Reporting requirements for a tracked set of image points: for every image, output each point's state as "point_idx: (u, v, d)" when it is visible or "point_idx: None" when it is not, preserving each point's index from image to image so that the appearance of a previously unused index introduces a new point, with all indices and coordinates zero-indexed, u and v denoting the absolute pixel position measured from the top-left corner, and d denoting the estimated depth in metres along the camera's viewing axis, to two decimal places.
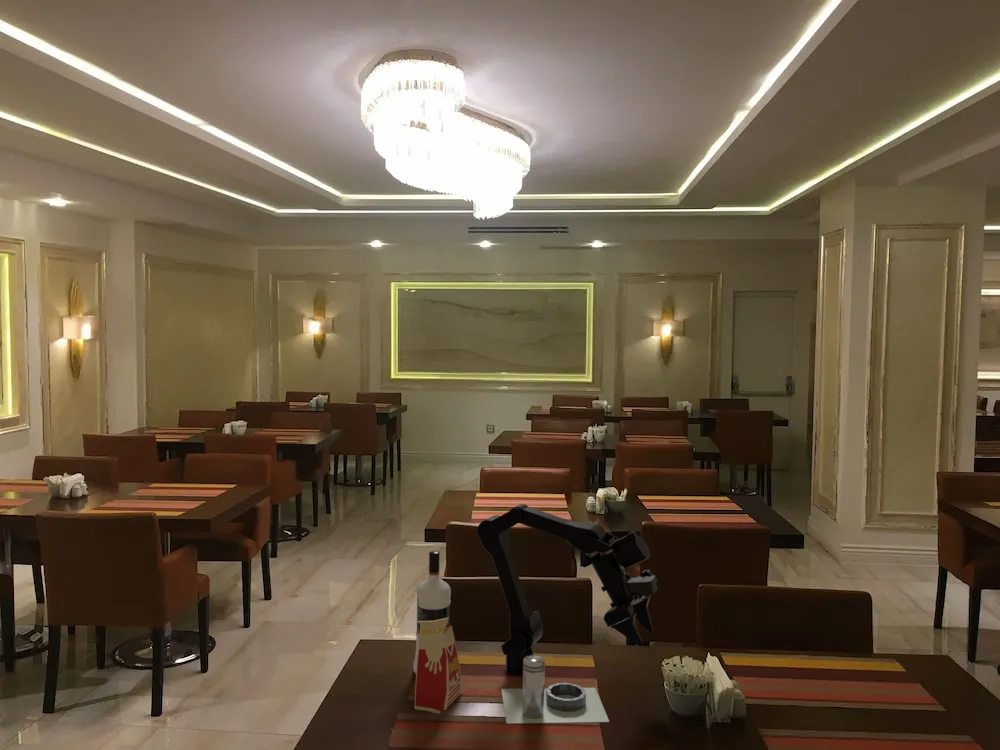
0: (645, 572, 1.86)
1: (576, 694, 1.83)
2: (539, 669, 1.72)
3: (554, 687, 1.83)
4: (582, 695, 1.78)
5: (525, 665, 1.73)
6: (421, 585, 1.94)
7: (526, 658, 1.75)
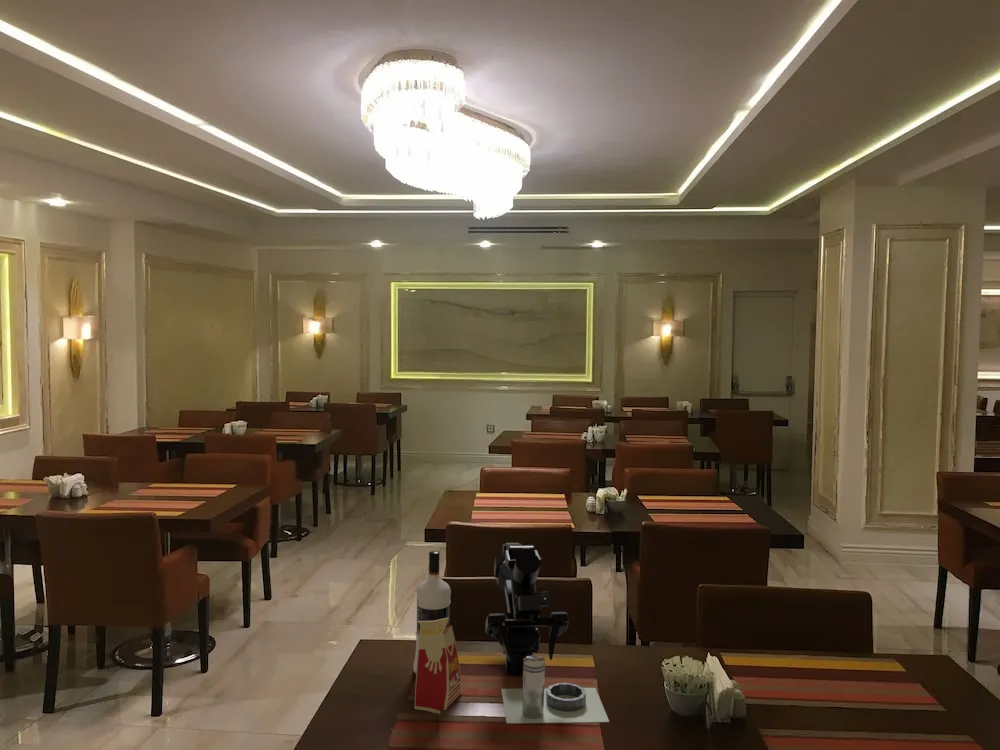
0: None
1: (576, 694, 1.83)
2: (539, 669, 1.72)
3: (554, 687, 1.83)
4: (582, 695, 1.78)
5: (525, 665, 1.73)
6: (421, 585, 1.94)
7: (526, 658, 1.74)
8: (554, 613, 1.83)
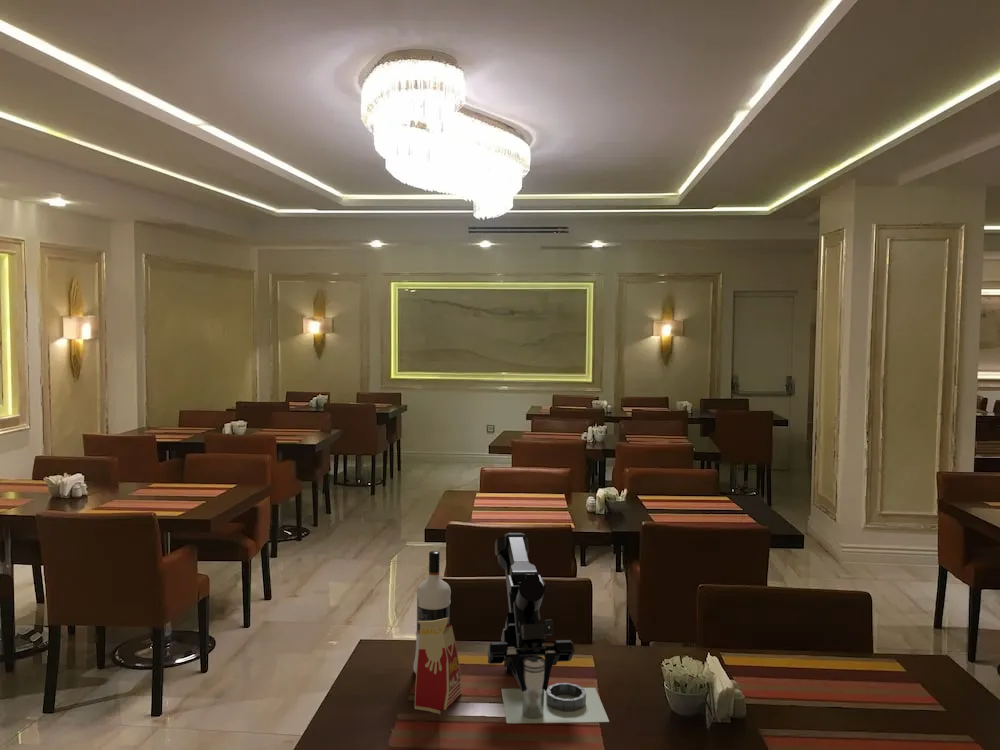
0: None
1: (576, 694, 1.83)
2: (539, 669, 1.72)
3: (554, 687, 1.83)
4: (582, 695, 1.78)
5: (525, 665, 1.73)
6: (421, 585, 1.94)
7: (526, 658, 1.74)
8: (558, 641, 1.78)
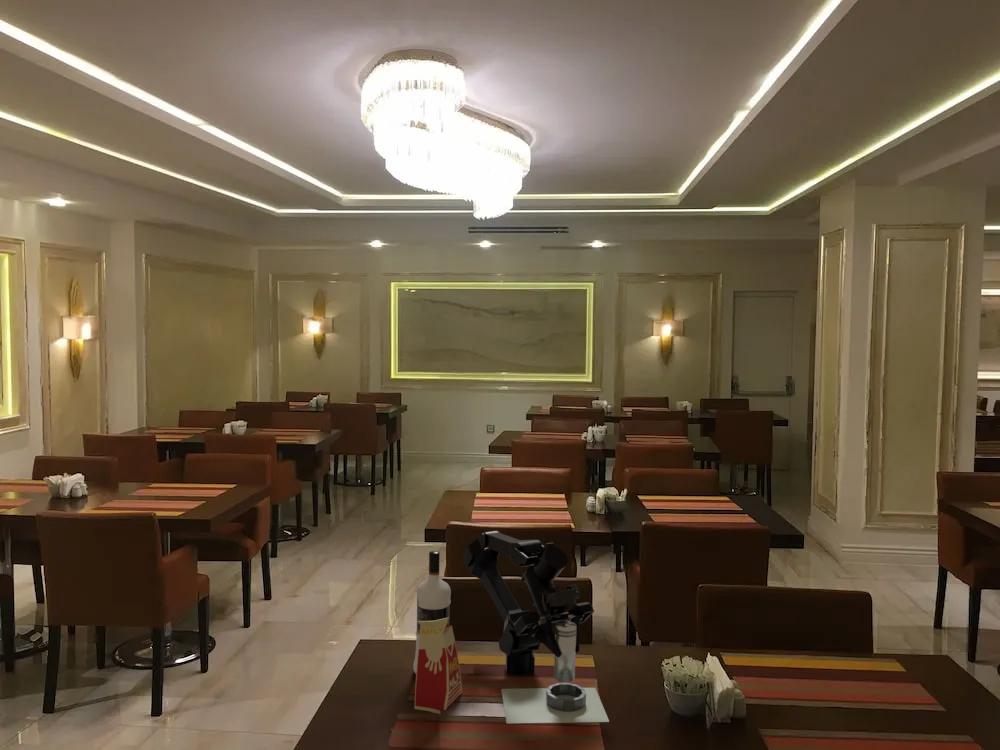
0: None
1: (576, 694, 1.83)
2: (574, 633, 1.77)
3: (554, 687, 1.83)
4: (582, 695, 1.78)
5: (561, 631, 1.77)
6: (421, 585, 1.94)
7: (558, 624, 1.78)
8: (579, 605, 1.84)
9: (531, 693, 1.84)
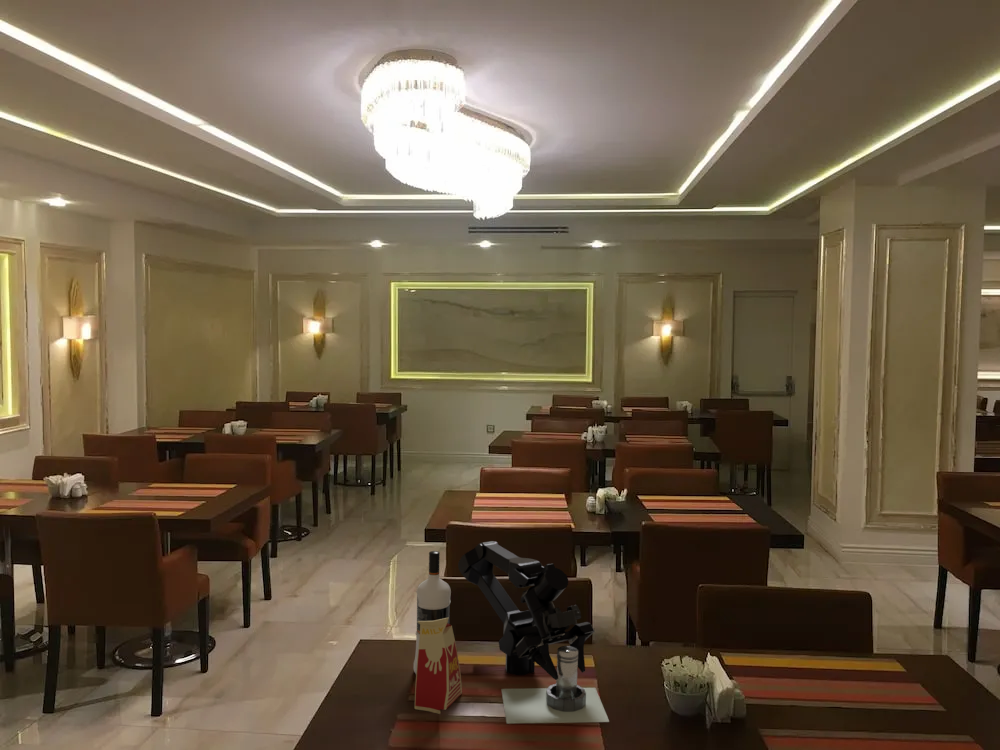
0: None
1: (576, 694, 1.83)
2: (576, 658, 1.78)
3: (554, 687, 1.83)
4: (582, 695, 1.78)
5: (563, 657, 1.77)
6: (421, 585, 1.94)
7: (559, 650, 1.79)
8: (580, 625, 1.85)
9: (531, 693, 1.84)
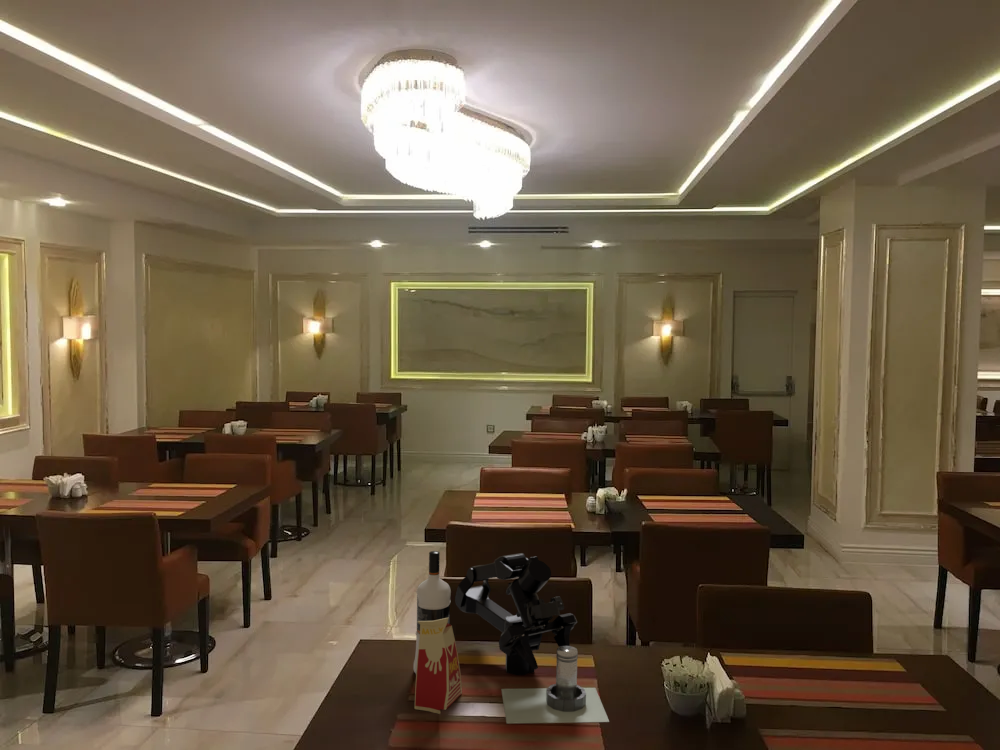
0: None
1: (576, 694, 1.83)
2: (575, 658, 1.78)
3: (554, 687, 1.83)
4: (582, 695, 1.78)
5: (562, 656, 1.78)
6: (421, 585, 1.94)
7: (559, 650, 1.79)
8: (563, 616, 1.91)
9: (531, 693, 1.84)
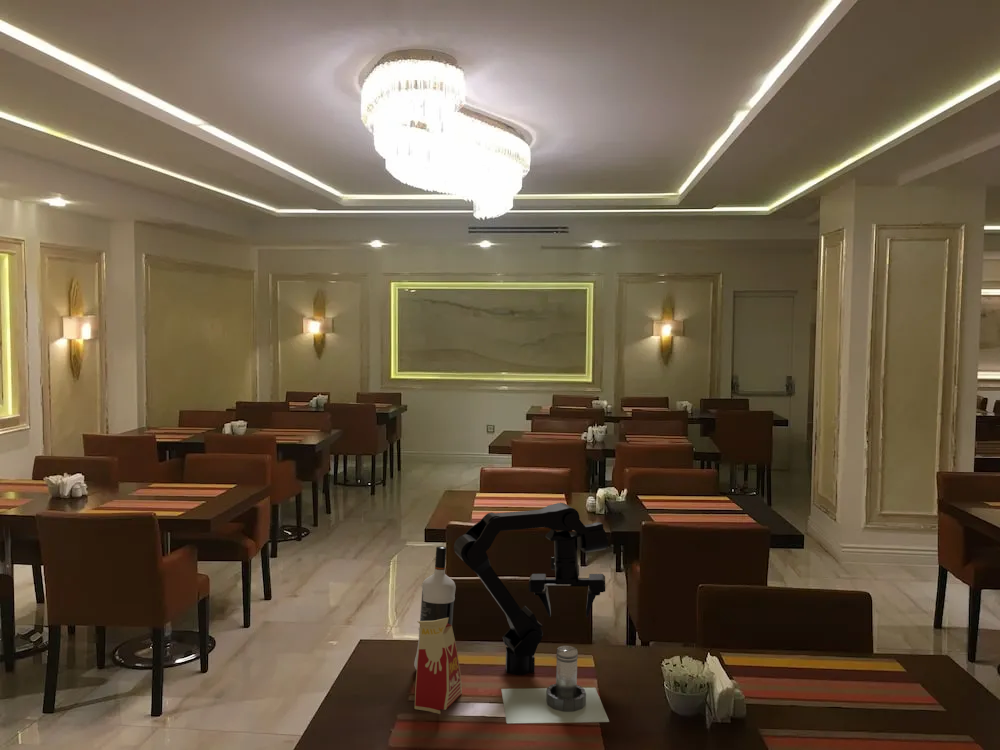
0: None
1: (576, 694, 1.83)
2: (575, 658, 1.78)
3: (554, 687, 1.83)
4: (582, 695, 1.78)
5: (562, 656, 1.78)
6: (427, 579, 1.97)
7: (559, 650, 1.79)
8: None
9: (531, 693, 1.84)
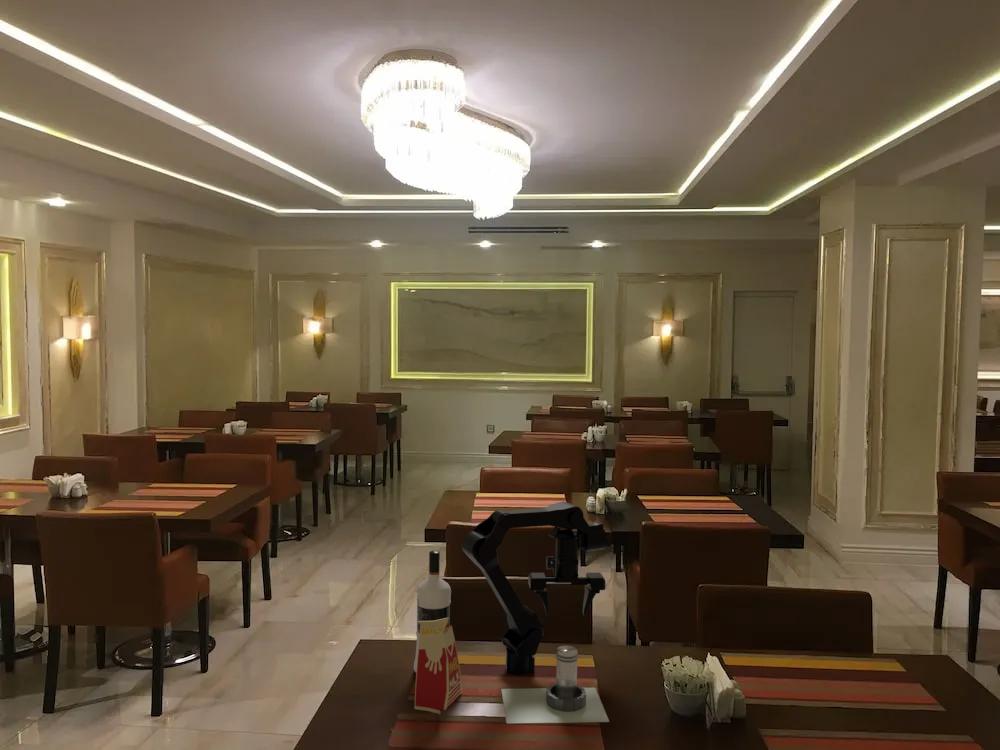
0: None
1: (576, 694, 1.83)
2: (575, 658, 1.78)
3: (554, 687, 1.83)
4: (582, 695, 1.78)
5: (562, 656, 1.78)
6: (421, 585, 1.95)
7: (559, 650, 1.79)
8: None
9: (531, 693, 1.84)
